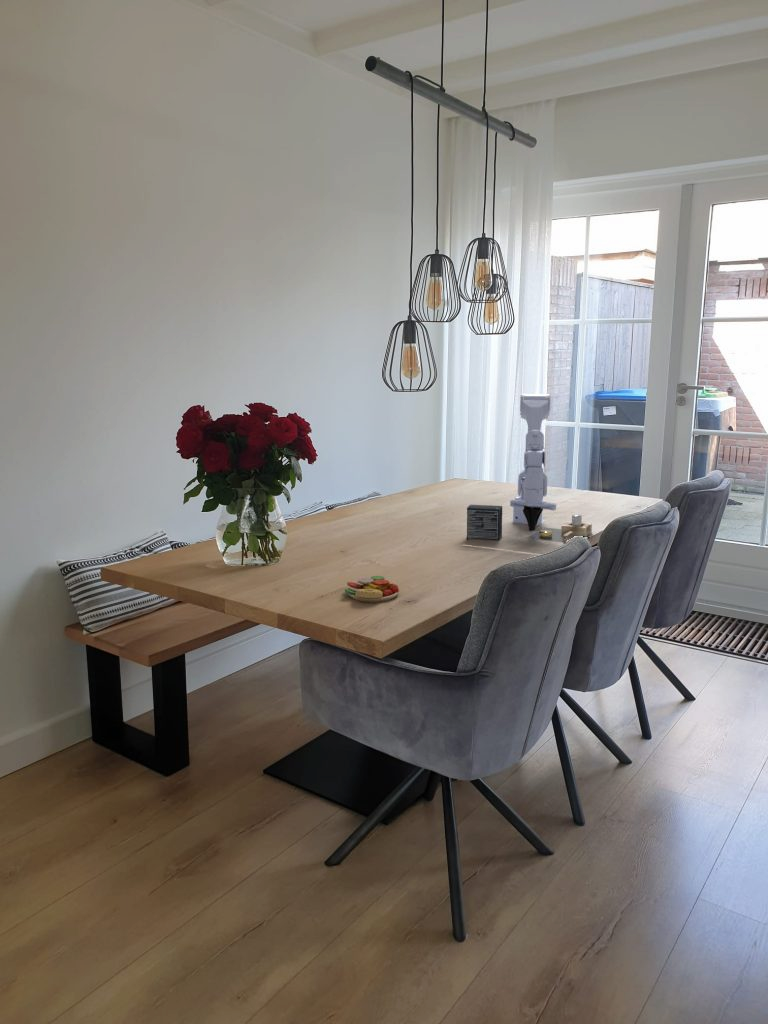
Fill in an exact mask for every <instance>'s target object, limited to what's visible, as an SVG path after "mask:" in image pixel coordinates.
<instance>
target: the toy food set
mask: <svg viewBox="0 0 768 1024" xmlns="http://www.w3.org/2000/svg"><path fill="white" fill-rule="evenodd" d="M385 578H386V577H385V576H381V575H373V576H371V577H362V578H359V579H357V582H358V583H357V582H352V581H347V583H346V585H347V586H348V588H345V589H344V592H345V593H347V595H348V596H349V597H351V598H352V600H353V599H354V600H356V601H359V602H366V603H367V602H369V603H371V602H373V603H374V602H375V603H377V602H383V601H384V602H385V601H390V600H392V599H394V598H396V597H397V596H398V595H399V593H400V588H399V586H398V585H397V584H396V583H393V582H391V581H389V580H387V579H385Z"/></svg>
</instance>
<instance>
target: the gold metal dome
mask: <svg viewBox="0 0 768 1024" xmlns="http://www.w3.org/2000/svg"><path fill="white" fill-rule="evenodd" d="M538 531H539V530H538ZM539 537H540V538H543V539H550V538H552V531H548V530H542V531H539Z"/></svg>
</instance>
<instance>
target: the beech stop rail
mask: <svg viewBox="0 0 768 1024" xmlns="http://www.w3.org/2000/svg"><path fill="white" fill-rule="evenodd" d="M571 538H573V532H571V531H569V532H568V533H566V534H565V535H563V542H562V543H566V541H567V540H569V539H571Z"/></svg>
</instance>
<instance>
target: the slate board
mask: <svg viewBox="0 0 768 1024" xmlns="http://www.w3.org/2000/svg"><path fill="white" fill-rule="evenodd" d="M542 530H548V531H552V538H550V539H543V538H540V537H539V531H542ZM573 537H574V536H573ZM526 538H527V539H534V540H540V541H541V540H542V541H549V542H550V541H551V542H558V543H559V542H560V543H564V542H563V535H561V528H553V527H543V528H541V529H539V530H538V531H535V532H534V533H532V534H531V535H529V536H527V537H526Z"/></svg>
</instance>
